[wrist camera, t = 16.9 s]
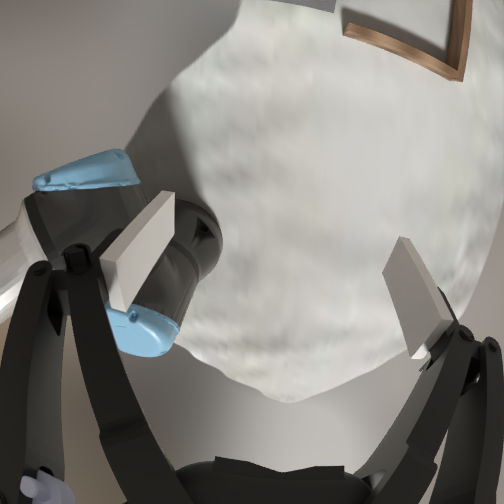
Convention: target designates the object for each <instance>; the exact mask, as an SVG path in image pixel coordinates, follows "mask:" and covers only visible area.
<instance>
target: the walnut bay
mask: <svg viewBox="0 0 504 504" xmlns="http://www.w3.org/2000/svg"><path fill="white" fill-rule="evenodd" d="M472 3H473V0H454V5H453V17H452V26H451V34H450V41H449V48H448V54H447V60H446V64H445V63H443V62H441V61H440V60H438V59H436V58H434V57H432V56H430V55H428V54H426V53H424V52H422V51H420V50H418V49H416V48H414V47H412V46H410V45H408V44H406V43H403V42H401V41H399V40H396V39H394V38H392V37H389V36H387V35H384V34H382V33H379V32H376V31H374V30H371V29H368V28H365V27H362V26H359V25H356V24H353V23H349V24H348V25H347V26H346V27H345V28H344V32H343V35H344V36H347V37H350V38H353V39H356V40H360V41H362V42H365V43H368V44H371V45H374V46H376V47H379V48H382V49H384V50H387V51H389V52H392V53H394V54H397V55H399V56H401V57H404V58H406V59H408V60H410V61H412V62H414V63H417V64H419V65H421V66H423V67H425V68H427V69H429V70H431V71H433V72H435V73H436V74H438V75H440V76H442V77H444V78H446V79H447V80H449V81H458V82H463V78H464V73H465V67H466V61H467V55H468V48H469V40H470V31H471V20H472Z"/></svg>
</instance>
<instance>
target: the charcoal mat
mask: <svg viewBox="0 0 504 504" xmlns="http://www.w3.org/2000/svg"><path fill="white" fill-rule="evenodd" d="M272 1H279V2H285V3H291V4H296V5H302V6H306V7H311V8H315V9H320V10H324V11H328V12H332V13H334V9H335V3H336V0H272Z"/></svg>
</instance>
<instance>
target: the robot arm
mask: <svg viewBox="0 0 504 504" xmlns="http://www.w3.org/2000/svg"><path fill="white" fill-rule="evenodd" d="M32 183H33V186H32V188H33V190H35V192H34V193H32V194H31V195H29V196H27V197H26V198H24V199H23V200H22V202H21V205H20V209H19V213H18V216H17V218H16V220H15V221H14V222H12V223H11V224H9V225H8V226H6V227H5V228H4V229H2V230H1V231H0V324H1V323H2V322H4V321H5V320H6V319H8V318H9V317H10V316H11V315H12V318H11V322H10V325H9V329H8V333H7V337H6V341H5V346H4V350H3V355H2V360H1V366H0V504H75V498H74V495H73V492H72V491H71V489H70V488H69V487H68V485H66V483H65V482H64V467H65V466H64V452H63V441H62V424H61V377H62V359H63V346H64V336H65V327H66V321H67V315H70V316H71V320H72V326H73V333H74V338H75V343H76V348H77V353H78V357H79V362H80V366H81V370H82V374H83V377H84V381H85V385H86V389H87V392H88V395H89V398H90V402H91V405H92V408H93V411H94V414H95V417H96V420H97V423H98V426H99V429H100V435H99V438H100V442H101V445H102V447H103V450H104V453H105V455H106V458H107V460H108V462H109V464H110V467H111V469H112V471H113V473H114V475H115V477H116V480H117V481H118V484H119V486H120V488H121V490H122V491H123V493H124V495H125V497H126V499H127V502H125V503H123V504H418V503H419V502H420V500H421V498H422V497H423V495H424V493H425V492H426V490H427V488H428V486H429V485H430V483H431V481H432V479H433V477H434V475H435V473H436V471H437V464H436V463H434V458H435V456H436V454H437V452H438V450H439V447H440V445H441V443H442V441H443V439H444V436H445V434H446V432H447V429H448V434H447V439H446V444H445V448H444V453H443V457H442V461H441V465H440V469H439V472H438V476H437V479H436V483H435V486H434V489H433V492H432V495H431V499H430V502H429V504H496V490H497V486H498V480H499V474H500V468H501V460H502V452H503V442H504V375H503V363H502V354H501V349H500V346H499V344H498V342H497V341H496V340H495V339H493V338H492V337H486V338H485V340H484V341H483V342H482V343H481V342H479V341H476V340H475V339H474V336H473V334H472V332H471V331H470V330H469V329H468V328H467V327H465V326H463V325H459V323H458V321H457V318H456V316H455V314H454V312H453V310H452V308H450V304H449V302H448V300H447V298H446V296H445V294H444V293H443V292H442V291H441V289H440V288H439V287H437V286H436V284H435V282H434V280H433V278H432V276H431V275H430V273H429V271H428V269H427V268H426V266H425V264H424V262H423V261H422V259H421V257H420V255H419V254H418V252H417V250H416V249H415V247H414V246H413V244H412V242H411V241H410V239H408V238H404V237H400V236H399V238H398V240H397V242H396V245H395V247H394V249H393V251H392V253H391V256H390V258H389V260H388V262H387V264H386V266H385V268H384V270H383V272H382V274H383V276H384V279H385V282H386V284H387V287H388V290H389V292H390V295H391V298H392V301H393V304H394V307H395V309H396V312H397V315H398V318H399V322H400V325H401V328H402V331H403V334H404V337H405V341H406V344H407V348H408V351H409V355H410V358H411V359H423V358H424V356H425V355H426V354H427V353H428V352H429V351H430V354H431V358H430V359H429V360H428V361H427V362H426V363H425V364H424V365H423V366H422V368H421V369H420V370H419V371H422V370H423V371H422V374H421V375H420V377H419V379H418V381H417V383H416V385H415V387H414V389H413V391H412V393H411V394H410V396H409V398H408V400H407V401H406V403H405V405H404V407H403V408H402V410H401V412H400V413H399V415H398V417H397V418H396V420H395V421H394V423H393V425H392V426H391V428H390V429H389V431H388V432H387V434H386V435H385V437H384V438H383V440H382V441H381V443H380V444H379V446H378V447H377V448H376V450H375V451H374V453H373V454H372V455H371V457H370V458H369V460H368V461H367V462H366V463H365V464H364V465H363V466H362V467H361V468H360V469H359V470H358V471H356V472H355V473H354V474H353V475H352V474H350V473H347V472H344V466H314V467H310V468H305V469H301V470H295V471H289V472H277V471H275V470H271V469H268V468H265V467H262V466H260V465H256V464H254V463H251V462H248V461H241V460H234V459H228V458H222V457H217V456H215V461H206V462H198V463H194V464H190V465H187V466H185V467H182V468H180V469H179V470H176V471H175V470H174V468H173V466H172V465H171V463H170V461H169V459H168V458H167V457H166V454H165V452H164V451H163V449H162V447H161V445H160V443H159V441H158V440H157V438H156V436H155V434H154V432H153V430H152V428H151V426H150V424H149V422H148V420H147V418H146V415H145V413H144V411H143V409H142V407H141V404H140V402H139V400H138V398H137V396H136V393H135V391H134V388H133V386H132V383H131V381H130V379H129V376H128V373H127V371H126V368H125V365H124V363H123V360H122V358H121V355H120V352H119V350H121V351H124V352H126V353H129V354H133V355H137V356H142V357H156V356H160V355H162V354H164V353H166V352H167V351H168V350H169V349H170V348H171V346H172V344H173V342H174V340H175V338H176V336H177V335H178V334H179V332H180V327H181V324H182V322H183V319H184V316H185V314H186V311H187V309H188V306H189V303H190V301H191V298H192V296H193V293H194V291H195V289H196V286H197V284H198V282H200V281H201V280H202V279H203V278H204V277H205V276H206V275H207V274H209V273H210V272H211V271H212V270H213V269H214V267H215V266H216V264H217V262H218V260H219V257H220V255H221V252H222V246H223V242H222V235H221V232H220V230H219V227H218V225H217V224H216V222H215V221H214V219H213V218H212V217H211V216H210V215H209V214H208V213H207V212H206V211H205V210H203V209H202V208H200V207H199V206H197V205H195V204H192V203H190V202H186V201H181V200H175V192H170V191H163V190H162V191H161V192H160V193H159V194H158V195H157V196H156V197H155V198H154V199H153V200H152V201H151V202H150V203H149V204H147V201H146V199H145V196H144V193H143V191H142V188H141V185H140V183H141V181H140V179H139V178H138V177H137V175H136V172H135V170H134V168H133V165H132V163H131V160H130V158H129V156H128V155H127V153H126V152H124V151H123V150H120V149H110V150H107V151H104V152H100V153H97V154H94V155H91V156H88V157H85V158H82V159H79V160H77V161H74V162H71V163H69V164H66V165H63V166H61V167H58V168H56V169H53V170H51V171H49V172H46V173H44V174H41V175H39V176H37V177H35V178H34V179H33V181H32ZM479 376H480V377H479ZM478 377H479V380H478V382H477V383H476V381H477V380H476V379H477V378H478ZM448 427H449V428H448Z"/></svg>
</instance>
